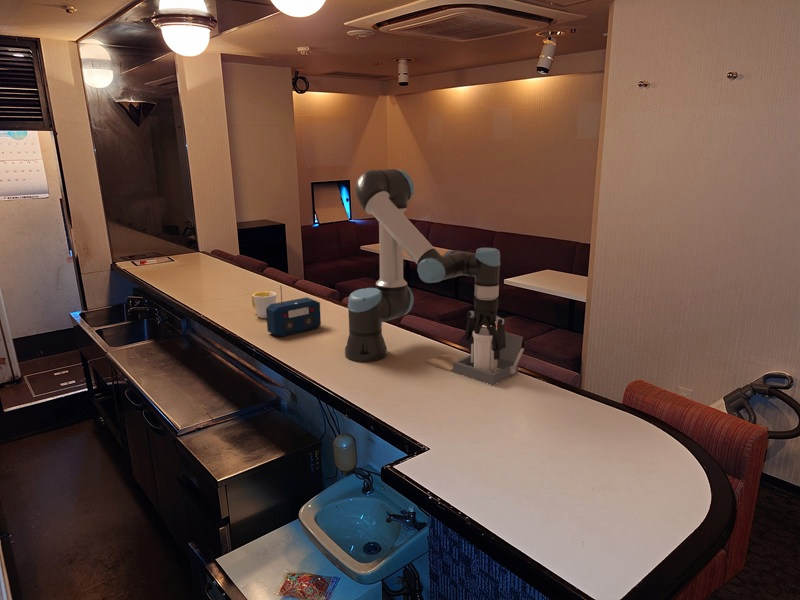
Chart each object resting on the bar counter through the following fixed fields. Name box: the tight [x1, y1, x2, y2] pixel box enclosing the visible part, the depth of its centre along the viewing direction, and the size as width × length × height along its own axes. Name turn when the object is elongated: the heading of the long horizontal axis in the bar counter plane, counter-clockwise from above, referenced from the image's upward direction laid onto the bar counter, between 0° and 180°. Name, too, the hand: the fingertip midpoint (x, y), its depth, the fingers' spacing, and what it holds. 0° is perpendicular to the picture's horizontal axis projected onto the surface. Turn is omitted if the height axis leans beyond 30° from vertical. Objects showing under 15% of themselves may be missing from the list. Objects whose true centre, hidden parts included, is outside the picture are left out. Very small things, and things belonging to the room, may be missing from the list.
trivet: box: [424, 353, 463, 372], centre depth 188 cm, size 11×11×1 cm
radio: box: [266, 284, 322, 338], centre depth 220 cm, size 21×9×20 cm, turn 129°
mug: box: [251, 291, 277, 319], centre depth 243 cm, size 14×10×10 cm
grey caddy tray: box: [452, 325, 525, 386], centre depth 178 cm, size 16×17×12 cm
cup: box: [473, 329, 494, 374], centre depth 177 cm, size 8×8×14 cm
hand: (483, 364), depth 178 cm, fingers closed on cup, 7 cm apart
